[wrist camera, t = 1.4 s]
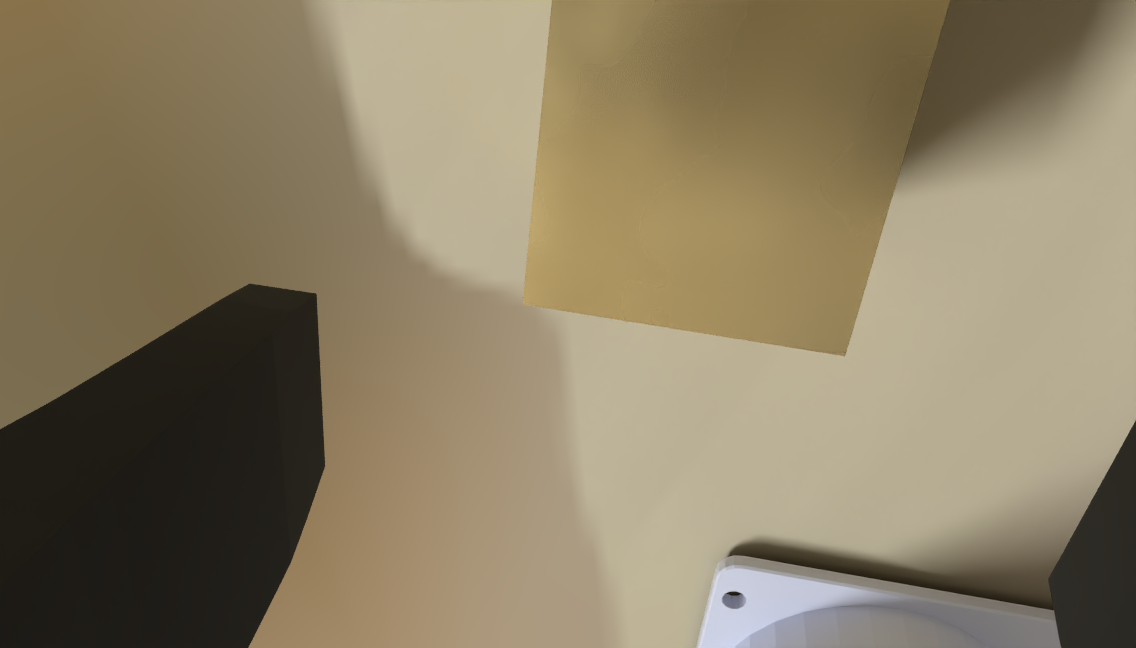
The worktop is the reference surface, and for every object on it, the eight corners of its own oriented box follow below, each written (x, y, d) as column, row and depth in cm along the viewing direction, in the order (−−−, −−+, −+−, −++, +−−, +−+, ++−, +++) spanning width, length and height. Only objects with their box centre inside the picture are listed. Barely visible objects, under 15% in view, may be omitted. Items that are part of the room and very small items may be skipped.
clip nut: (814, 212, 18) (844, 356, 14) (569, 175, 18) (522, 304, 14) (890, -82, 15) (955, -21, 11) (604, -120, 16) (559, -75, 11)
